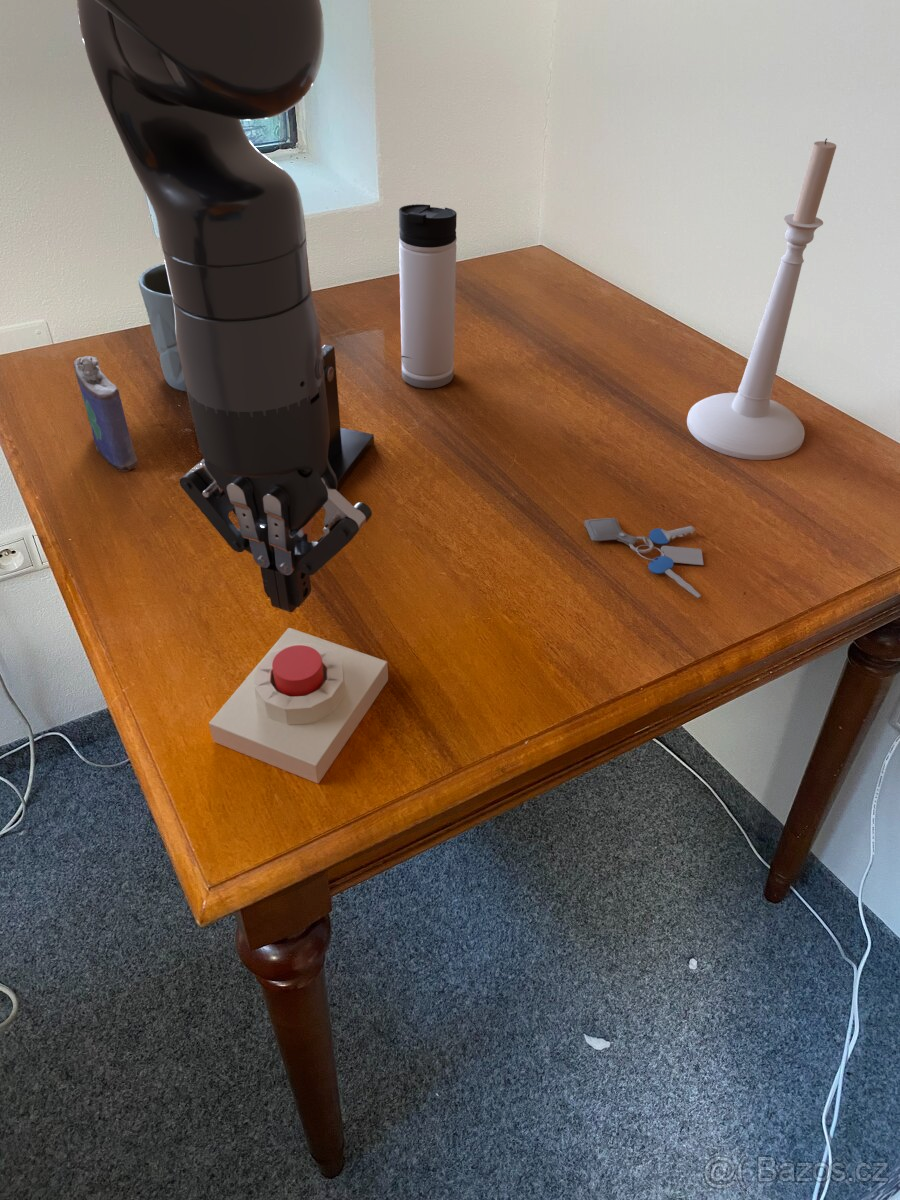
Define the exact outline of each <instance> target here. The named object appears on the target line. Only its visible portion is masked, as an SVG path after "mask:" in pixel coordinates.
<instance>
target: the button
mask: <svg viewBox="0 0 900 1200" xmlns="http://www.w3.org/2000/svg"><path fill="white" fill-rule="evenodd" d="M272 668H273V674H274V680H275V685H276V687H277V688H278V690H279V691H281V692H282V693H283V694H286V695H288V696H293V697H295V696H306V695H309V694H311V693H313V692H314V691H316V690H317V689H318V688H319V687H320V686H321V684H322V682H323V679H324V673H323V665H322V658H321V655H320V654H319V653H318V652H317V651H316V650H315V649H313V648H311V647H309V646H304V645H295V646H290V647H287V648H285V649H283V650H282V651H280V652H279V653H278V654H277V655H276V656H275V658H274V660H273V663H272Z"/></svg>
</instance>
